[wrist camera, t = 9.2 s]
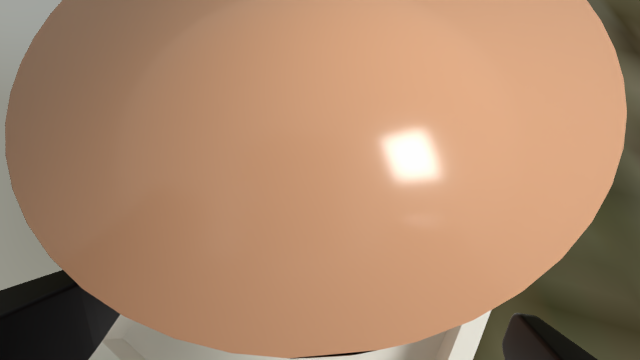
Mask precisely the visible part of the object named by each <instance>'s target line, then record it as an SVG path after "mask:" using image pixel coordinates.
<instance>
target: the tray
mask: <svg viewBox="0 0 640 360" xmlns="http://www.w3.org/2000/svg"><path fill="white" fill-rule="evenodd" d="M490 312H491V310H490V311H488V312H487V313H485V314H483V315H481V316H480V317H478V318H476V319H474V320H473V321H470V322H467V323H465V324H462V325H460V326H457V327H454V328H452V329H449V330H447V331H444V332H441V333H439V334H436V335H434V336H431V337H428V338H426V339H423V340H420V341H418V342H414V343H409V344H405V345H400V346H395V347H391V348H386V349H381V350H377V351H372V352H367V353H362V354H358V355H351V356H337V357H321V358H297V359H290V358H279V357H268V356H257V355H247V354H236V353H229V352H225V351H221V350H217V349H213V348H209V347H205V346H202V345H198V344H194V343H190V342H186V341H182V340H178V339H174V338H172V337H170V336H167V335H165V334H163V333H160V332H158V331H156V330H154V329H151V328H149V327H147V326H145V325H142V324H140V323H138V322H135V321H133V320H131V319H129V318H126V317H124V316H123V315H121V314H120V316H119V317H118V319H117V320H116V322H115V323H114V325H113V326H112V327H111V329H110V330H109V332H108V333H107V335H106V336H105V338H104V339H103V341H102V342H101V344H100V345H99V346H98V348H97V349H96V351H95V352H94V353H93V354H92V356H91V357H90V358H89V360H473V358H474V355H475V352H476V350H477V347H478V344H479V342H480V339H481V336H482V333H483V331H484V328H485V325H486V323H487V320H488V317H489V315H490Z"/></svg>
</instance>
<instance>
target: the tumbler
mask: <svg viewBox="0 0 640 360" xmlns="http://www.w3.org/2000/svg"><path fill="white" fill-rule="evenodd" d="M626 117H627V108H626V98H625V88H624V79H623V75H622V72H621V69H620V65H619V62H618V58H617V55H616V51H615V48H614V46H613V44H612V42H611V40H610V38H609V36H608V34H607V32H606V30H605V28H604V26H603V24H602V22H601V20H600V19H599V17H598V16H597V14H596V13H595V12H594V10H593V9H592V7H591V6H590V4H589V3H588V1H587V0H62V2H61V3H60V4H59V5H58V6H57V7H56V8H55V9H54V11H53V12H52V13H51V14H50V15H49V17H48V18H47V20H46V21H45V23H44V24H43V25H42V27H41V29H40V30H39V31H38V33H37V34H36V35H35V37H34V39H33V41H32V42H31V44H30V46H29V48H28V50H27V52H26V54H25V56H24V58H23V60H22V62H21V64H20V67H19V69H18V72H17V75H16V78H15V81H14V84H13V87H12V90H11V93H10V99H9V105H8V110H7V116H6V122H5V127H6V128H5V136H6V137H5V138H6V159H7V164H8V169H9V174H10V179H11V184H12V188H13V191H14V194H15V196H16V198H17V201H18V203H19V205H20V208H21V210H22V213H23V215H24V217H25V220H26V222H27V224H28V225H29V227H30V228H31V230H32V231H33V233H34V234H35V236H36V237H37V239H38V240H39V241H40V243H41V244H42V246H43V247H44V249H45V250H46V252H47V253H48V255H49V256H50V257H51V258H52V259H53V260H54V261H55V262H56V263H57V264H58V265H59V266H60V267H61V268H62V269H63V270H64V271H65V272H66V273H67V274H68V275H69V276H70V277H71V278H72V279H73V280H74V281H75V282H76V283H77V284H78V285H79V286H80V287H81V288H82V289H84V290H85V291H87V292H88V293H90V294H91V295H93V296H94V297H96V298H97V299H99V300H100V301H102V302H103V303H105V304H106V305H108V306H109V307H111V308H112V309H114V310H115V311H117V312H118V313H120V314H121V315H123V316H124V317H126V318H129V319H131V320H133V321H135V322H138V323H140V324H142V325H145V326H147V327H149V328H151V329H154V330H156V331H158V332H160V333H163V334H165V335H167V336H170V337H172V338H174V339H178V340H182V341H186V342H190V343H194V344H198V345H202V346H205V347H209V348H213V349H217V350H221V351H225V352H229V353H236V354H247V355H257V356H268V357H279V358H290V359H297V358H321V357H337V356H351V355H358V354H362V353H367V352H372V351H377V350H381V349H386V348H391V347H395V346H400V345H405V344H409V343H414V342H418V341H420V340H423V339H426V338H428V337H431V336H434V335H436V334H439V333H441V332H444V331H447V330H449V329H452V328H454V327H457V326H460V325H462V324H465V323H467V322H470V321H473V320H474V319H476V318H478V317H480V316H481V315H483V314H485V313H487V312H488V311H490V310H492V309H493V308H495V307H497V306H499V305H500V304H502V303H504V302H505V301H507V300H509V299H511V298H512V297H514V296H516V295H517V294H519V293H521V292H522V291H524V290H525V289H526V288H527V287H528V286H529V285H531V284H532V283H533V282H534V281H535V280H537V279H538V278H539V277H540V276H541V275H543V274H544V273H545V272H546V271H547V270H549V269H550V268H551V267H552V266H553V265H555V264H556V263H557V262H558V261H559V260H561V259H562V257H563V256H564V255H565V254H566V253H567V251H568V250H569V249H570V248H571V247H572V245H573V244H574V243H575V242H576V241H577V239H578V238H579V237H580V236H581V235H582V233H583V232H584V231H585V230H586V229H587V227H588V226H589V225H590V224H591V222H592V221H593V219H594V217H595V215H596V213H597V212H598V210H599V208H600V206H601V204H602V202H603V201H604V199H605V197H606V195H607V193H608V191H609V190H610V188H611V186H612V183H613V180H614V177H615V174H616V170H617V167H618V164H619V161H620V157H621V154H622V151H623V147H624V137H625V127H626Z"/></svg>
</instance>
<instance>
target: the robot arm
mask: <svg viewBox="0 0 640 360" xmlns="http://www.w3.org/2000/svg"><path fill="white" fill-rule="evenodd" d="M119 316H120V313H118V312H117V311H115V310H114V309H112V308H111V307H109V306H108V305H106V304H105V303H103V302H102V301H100V300H99V299H97V298H96V297H94V296H93V295H91V294H90V293H88V292H87V291H85V290H84V289H82V288H81V287H80V286H79V285H78V284H77V283H76V282H75V281H74V280H73V279H72V278H71V277H70V276H69V275H68V274H67V273H66V272H65V271H64V270H62V271H59V272H55V273H52V274H49V275H46V276H43V277H40V278H37V279H34V280H31V281H28V282H25V283H22V284H19V285H16V286H13V287H10V288H7V289H4V290H1V291H0V360H89V358H90V357H91V356H92V354H93V353H94V352H95V351H96V349H97V348H98V346H99V345H100V344H101V342H102V341H103V339H104V338H105V336H106V335H107V333H108V332H109V330H110V329H111V327H112V326H113V325H114V323H115V322H116V320H117V319H118V317H119ZM502 349H503V354H504V357H505V360H597V359H596V358H595V357H593V356H592V355H590V354H589V353H588V352H586V351H585V350H583V349H582V348H581V347H579V346H578V345H576V344H575V343H573V342H572V341H571V340H569V339H568V338H566V337H565V336H564V335H562V334H561V333H559V332H558V331H557V330H555V329H554V328H552V327H551V326H550V325H548V324H547V323H545V322H544V321H543V320H541V319H540V318H538V317H537V316H534V315H528V314H521V313H516V314H514V315H513V316H512V317H511V319H510V322H509V325H508V328H507V330H506V333H505V336H504V338H503V343H502Z"/></svg>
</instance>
